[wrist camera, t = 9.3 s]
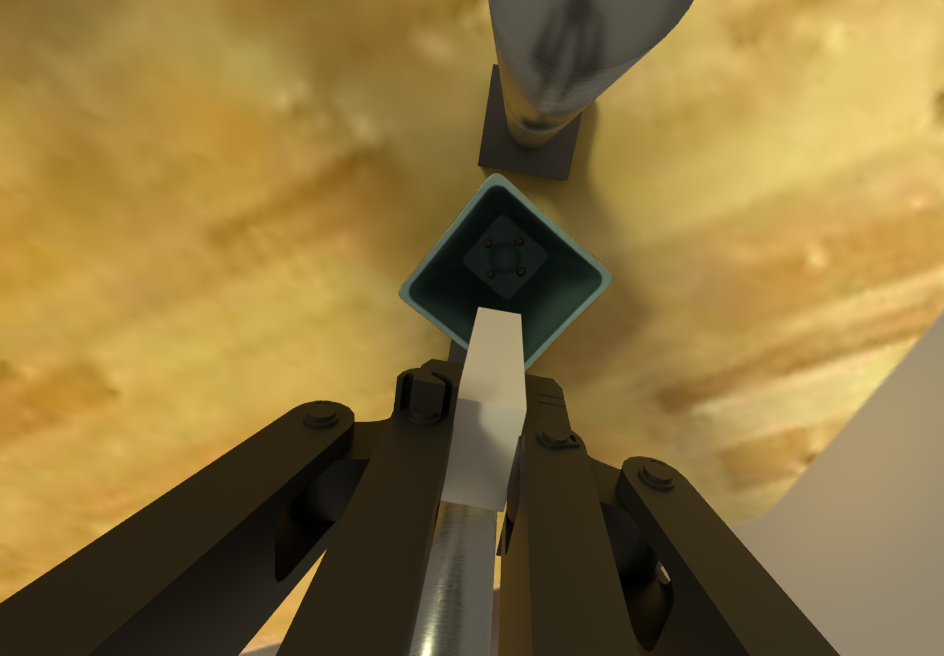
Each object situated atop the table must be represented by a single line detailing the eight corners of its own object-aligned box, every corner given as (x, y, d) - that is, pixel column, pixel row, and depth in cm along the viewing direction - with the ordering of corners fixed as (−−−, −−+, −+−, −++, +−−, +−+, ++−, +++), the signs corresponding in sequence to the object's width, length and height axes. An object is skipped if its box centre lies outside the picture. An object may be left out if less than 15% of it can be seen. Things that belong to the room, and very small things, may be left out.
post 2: (494, 69, 29) (394, -430, 5) (585, 83, 29) (947, -361, 5) (479, 165, 31) (356, 147, 7) (564, 179, 31) (743, 212, 7)
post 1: (455, 325, 36) (322, 667, 11) (530, 339, 35) (564, 717, 11) (444, 392, 38) (313, 806, 13) (515, 405, 37) (517, 850, 13)
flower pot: (591, 250, 33) (619, 278, 24) (511, 336, 35) (510, 387, 27) (500, 168, 31) (494, 168, 23) (424, 264, 34) (394, 294, 26)
